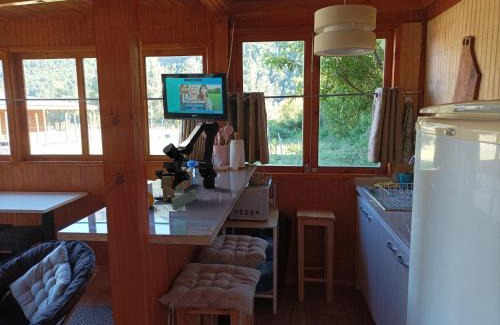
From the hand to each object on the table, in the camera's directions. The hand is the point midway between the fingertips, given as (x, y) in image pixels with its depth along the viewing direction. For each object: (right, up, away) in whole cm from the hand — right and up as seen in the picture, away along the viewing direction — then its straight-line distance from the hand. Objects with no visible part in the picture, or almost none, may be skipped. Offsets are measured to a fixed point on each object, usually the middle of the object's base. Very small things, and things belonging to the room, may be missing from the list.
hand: (166, 188), depth 190 cm
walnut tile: (+1, -6, +2) cm, 7 cm away
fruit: (-10, -9, -11) cm, 17 cm away
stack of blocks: (+2, -2, +34) cm, 34 cm away
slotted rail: (+10, -7, -6) cm, 14 cm away
